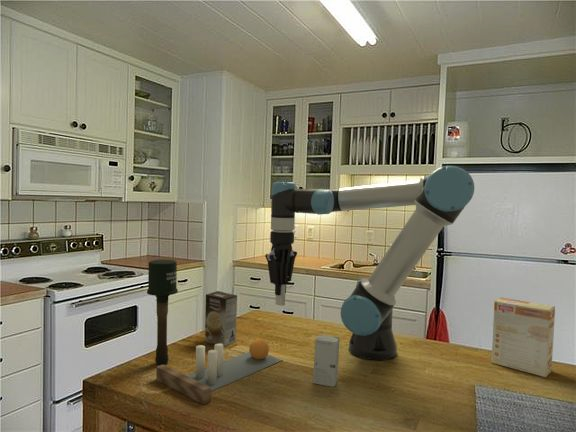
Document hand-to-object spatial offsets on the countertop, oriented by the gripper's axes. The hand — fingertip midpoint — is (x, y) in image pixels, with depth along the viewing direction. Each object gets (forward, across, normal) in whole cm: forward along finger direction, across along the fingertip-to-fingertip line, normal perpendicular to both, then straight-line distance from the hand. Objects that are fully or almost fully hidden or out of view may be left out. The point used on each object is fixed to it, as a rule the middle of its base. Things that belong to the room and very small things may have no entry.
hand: (280, 304), depth 137 cm
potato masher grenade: (+15, +31, -18) cm, 39 cm away
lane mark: (+15, +20, 0) cm, 25 cm away
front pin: (+15, +25, 0) cm, 30 cm away
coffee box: (+15, +7, -20) cm, 26 cm away
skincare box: (+15, +8, +24) cm, 30 cm away
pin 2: (+15, +30, +3) cm, 33 cm away
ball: (+12, +9, 0) cm, 15 cm away
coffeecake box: (+15, -41, +61) cm, 75 cm away
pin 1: (+15, +30, -2) cm, 33 cm away
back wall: (+15, +37, 0) cm, 40 cm away
